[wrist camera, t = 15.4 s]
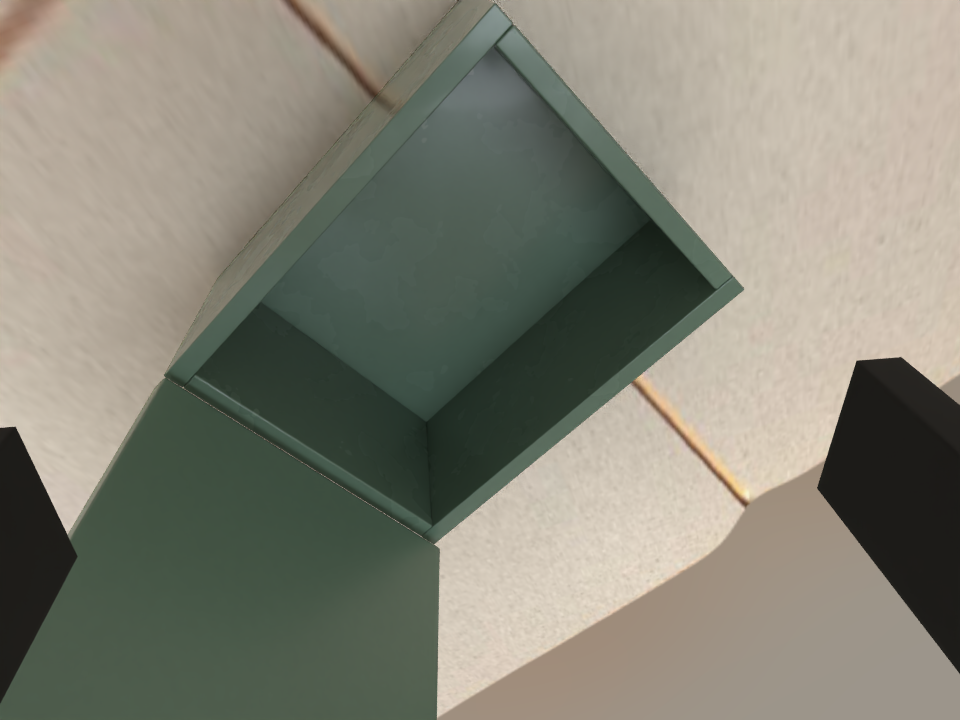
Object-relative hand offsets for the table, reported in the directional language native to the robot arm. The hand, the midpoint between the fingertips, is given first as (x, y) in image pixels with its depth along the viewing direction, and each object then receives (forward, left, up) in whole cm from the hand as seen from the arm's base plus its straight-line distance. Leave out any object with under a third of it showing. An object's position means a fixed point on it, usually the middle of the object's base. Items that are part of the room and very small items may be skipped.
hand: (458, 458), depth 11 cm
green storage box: (+5, -4, -26) cm, 27 cm away
